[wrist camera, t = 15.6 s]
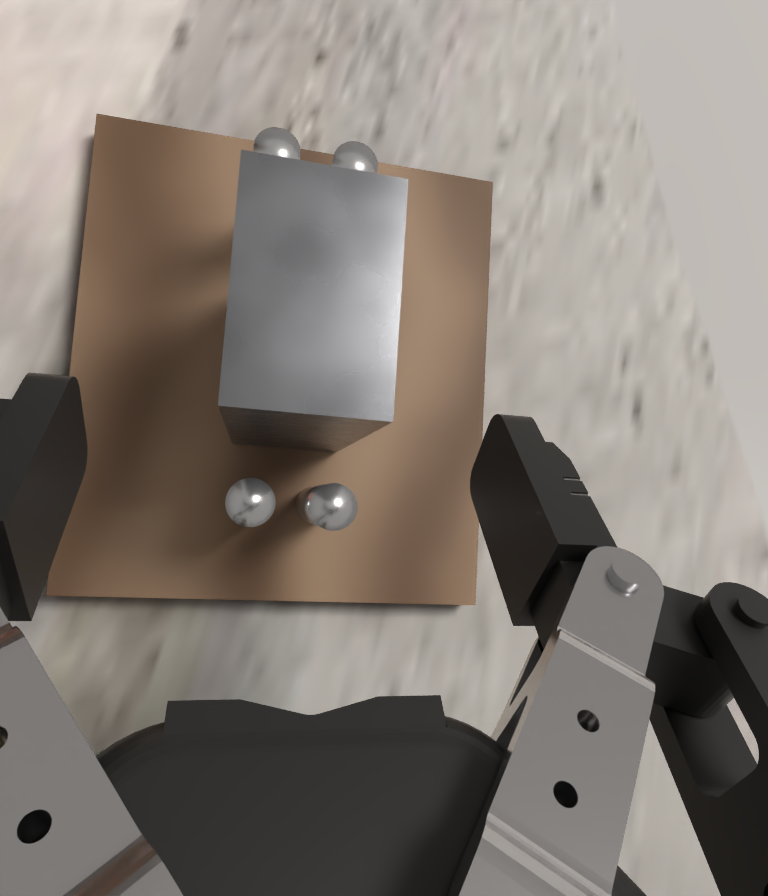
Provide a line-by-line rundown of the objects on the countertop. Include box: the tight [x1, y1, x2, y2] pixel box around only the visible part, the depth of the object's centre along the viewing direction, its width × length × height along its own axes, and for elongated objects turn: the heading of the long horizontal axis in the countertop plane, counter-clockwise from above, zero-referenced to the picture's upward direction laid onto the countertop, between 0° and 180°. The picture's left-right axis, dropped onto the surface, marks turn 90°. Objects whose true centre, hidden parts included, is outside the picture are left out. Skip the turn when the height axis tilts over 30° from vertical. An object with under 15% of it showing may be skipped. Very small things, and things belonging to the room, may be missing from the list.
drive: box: [218, 149, 408, 452], centre depth 19 cm, size 4×6×10 cm, turn 176°
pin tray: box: [46, 114, 493, 605], centre depth 22 cm, size 16×18×7 cm
